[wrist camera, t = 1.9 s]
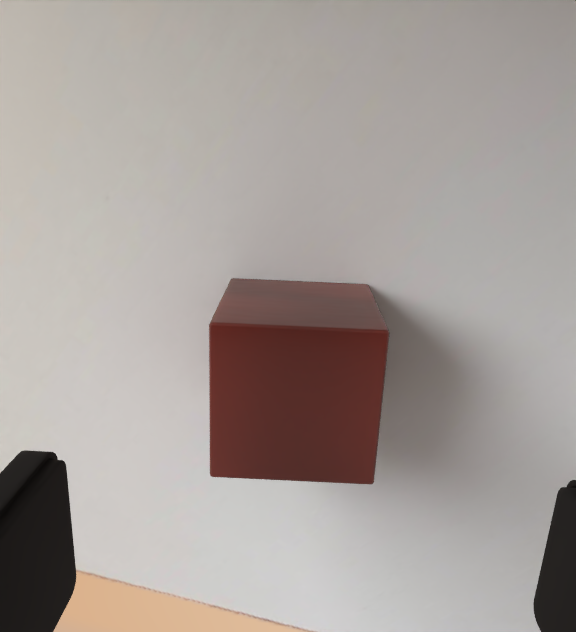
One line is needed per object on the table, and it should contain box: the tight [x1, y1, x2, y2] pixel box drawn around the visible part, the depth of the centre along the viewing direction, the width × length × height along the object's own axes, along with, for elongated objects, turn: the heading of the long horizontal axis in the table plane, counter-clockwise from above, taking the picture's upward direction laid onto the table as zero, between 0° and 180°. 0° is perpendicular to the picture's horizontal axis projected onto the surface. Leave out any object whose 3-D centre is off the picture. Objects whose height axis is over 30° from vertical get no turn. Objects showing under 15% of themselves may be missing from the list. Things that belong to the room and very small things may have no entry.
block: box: [209, 278, 389, 484], centre depth 16 cm, size 4×4×4 cm
